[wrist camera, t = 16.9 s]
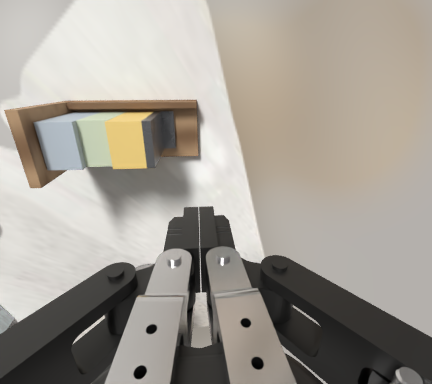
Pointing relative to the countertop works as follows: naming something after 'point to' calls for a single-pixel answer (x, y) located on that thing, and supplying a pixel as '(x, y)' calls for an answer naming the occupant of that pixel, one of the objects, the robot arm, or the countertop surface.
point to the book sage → (95, 138)
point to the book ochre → (127, 140)
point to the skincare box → (5, 320)
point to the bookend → (158, 135)
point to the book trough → (25, 116)
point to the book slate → (62, 141)
